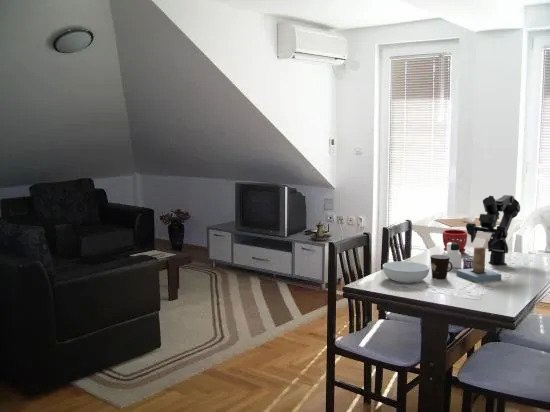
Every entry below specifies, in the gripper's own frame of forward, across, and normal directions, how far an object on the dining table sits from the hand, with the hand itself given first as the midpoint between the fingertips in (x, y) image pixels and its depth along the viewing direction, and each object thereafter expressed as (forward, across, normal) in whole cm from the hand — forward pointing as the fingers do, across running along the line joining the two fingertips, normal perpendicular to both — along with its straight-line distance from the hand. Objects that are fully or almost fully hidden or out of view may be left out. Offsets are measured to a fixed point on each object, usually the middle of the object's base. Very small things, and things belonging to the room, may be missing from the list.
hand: (481, 243), depth 271 cm
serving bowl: (+36, -21, -11) cm, 43 cm away
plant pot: (-20, -29, +36) cm, 50 cm away
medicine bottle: (+5, -16, +15) cm, 23 cm away
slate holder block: (+16, +2, +6) cm, 17 cm away
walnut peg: (+16, +2, +6) cm, 17 cm away
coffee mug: (+26, -11, -2) cm, 28 cm away
